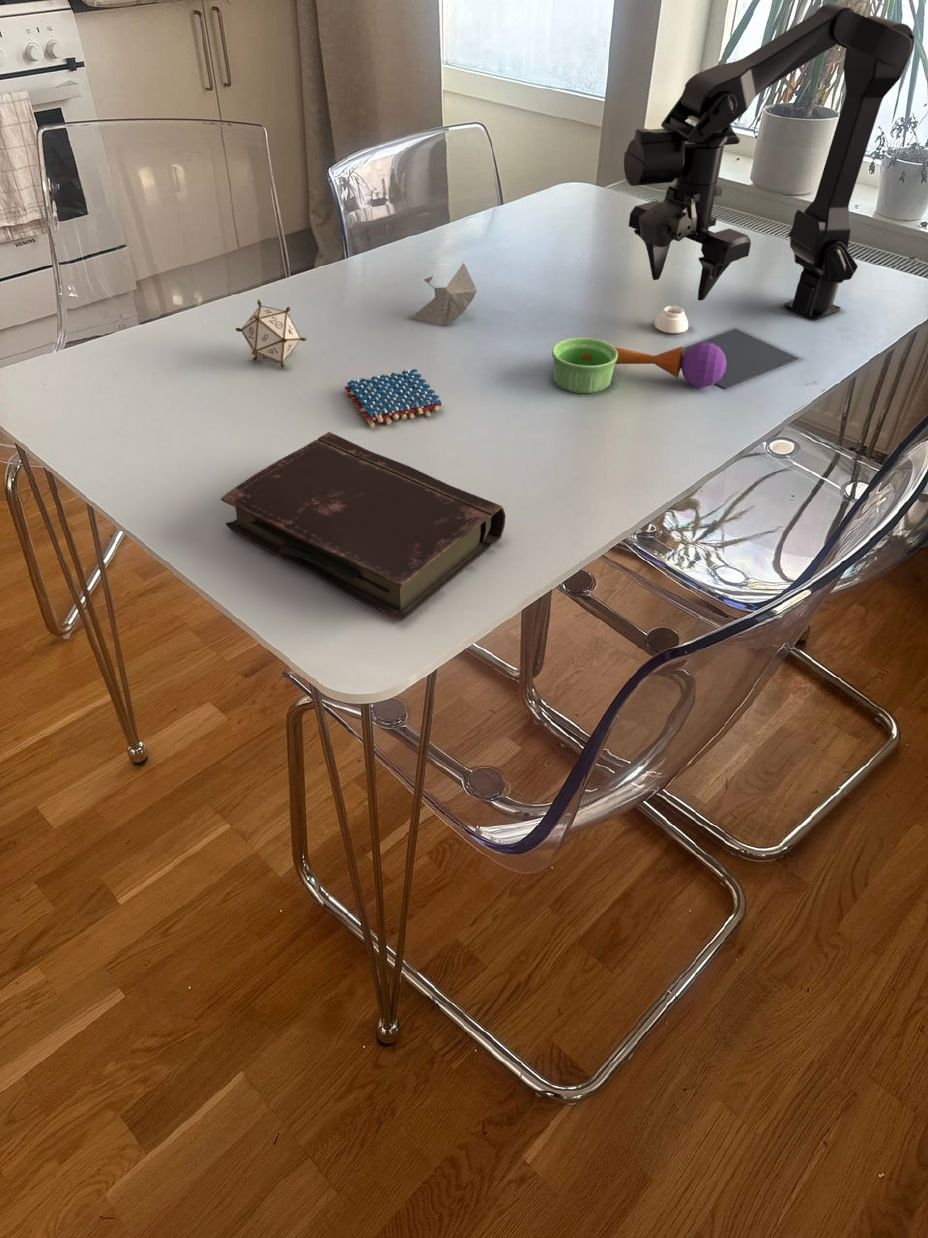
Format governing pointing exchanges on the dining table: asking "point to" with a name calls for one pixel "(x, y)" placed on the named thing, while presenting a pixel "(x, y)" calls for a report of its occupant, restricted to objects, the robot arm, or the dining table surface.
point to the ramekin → (583, 364)
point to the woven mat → (392, 396)
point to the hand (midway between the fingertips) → (678, 289)
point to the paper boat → (449, 299)
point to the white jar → (672, 320)
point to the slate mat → (746, 357)
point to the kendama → (681, 362)
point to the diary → (365, 522)
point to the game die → (271, 334)
